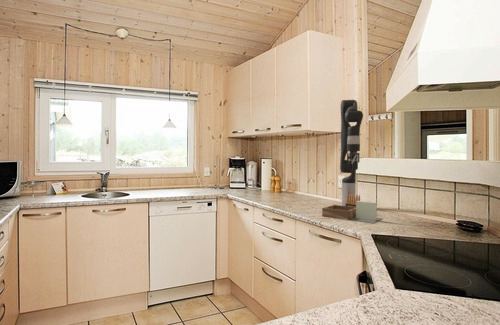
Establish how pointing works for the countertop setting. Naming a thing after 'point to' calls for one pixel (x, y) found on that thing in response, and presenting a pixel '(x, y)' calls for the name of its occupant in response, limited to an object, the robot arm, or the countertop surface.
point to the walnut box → (339, 212)
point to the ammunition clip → (352, 200)
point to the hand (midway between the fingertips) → (353, 169)
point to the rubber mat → (366, 220)
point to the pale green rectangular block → (366, 210)
